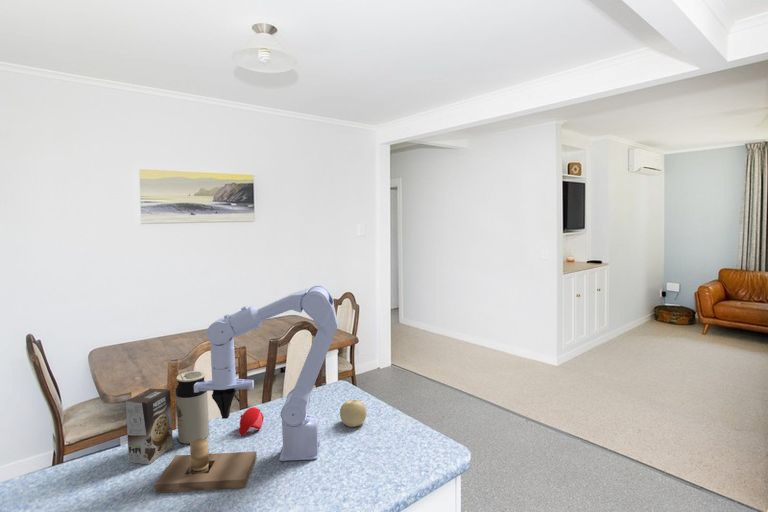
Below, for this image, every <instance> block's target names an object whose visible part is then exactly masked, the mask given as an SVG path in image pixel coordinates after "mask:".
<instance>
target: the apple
mask: <svg viewBox="0 0 768 512" xmlns="http://www.w3.org/2000/svg"><path fill="white" fill-rule="evenodd" d="M367 411H368V410H367V408H366V405H365V404H364V402H363V401H361V400H359V399H350V400H347V401H345V402H344V403H343V404H342V405H341V407H340V409H339V417H340V419H341V420H340V421H341V422H342V423H343V424H344V425H346V426H347V427H350V428H353V427H358V426H361V425H362V424H364V422H365V420H366V418H367V416H368V415H367Z"/></svg>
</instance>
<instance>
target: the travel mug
mask: <svg viewBox="0 0 768 512" xmlns="http://www.w3.org/2000/svg"><path fill="white" fill-rule="evenodd" d="M206 374H207V373H206V372H204V371H201V370H192V371H186V372H182V373H179V374H178V375H177V376H176V381H177V383H178V384H177V386H176V388H175V401H176V418H177V419H176V420H177V437H178V442H180V443H182V444H187V445H188V444H189V443H190V444H191V443H192V442H193V441H195V440H198V439H207V438H208V437H209V436H210V422H209V403H208V401H209V400H208V391H199V392H194V384H195V383H196V382H205V381H206V380H205V378H206V377H205V376H206ZM190 444H189V445H190Z"/></svg>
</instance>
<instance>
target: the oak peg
mask: <svg viewBox="0 0 768 512" xmlns="http://www.w3.org/2000/svg"><path fill="white" fill-rule="evenodd" d="M189 449H190V450H189V451H190V455H191V466H192V472H191V474H202V473H209V471H210V469H209V464H208V463H209V454H210V453H209V440H208V439H207V438H205V439H198V440H195V441H193V442H192V443H190V444H189Z"/></svg>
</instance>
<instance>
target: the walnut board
mask: <svg viewBox="0 0 768 512" xmlns="http://www.w3.org/2000/svg"><path fill="white" fill-rule="evenodd" d="M257 458H258V457H257V451H239V452H236V451H234V452H219V453H218V452H217V453H209V463H208V464H209V468H210V469H209V473H202V474H192V466H191V454H182V455H180V454H178V455H176V454H175V456H174V457H173V458H172V460H171V461H170V462H169V463H168V465H167V466H166V468H165V469H164V471H163V472H162V474H161V475H160V476H159V478H158V479H157V480H156V482H155V483H154V493H155V494H156V493H159V494H160V493H174V492H176V493H177V492H193V491H194V492H195V491H210V490H212V491H213V490H227V489H245V488H247V487H248V486H247V485H248V483H249V479H250V477H251V475H252V472H253V469H254V467H255V464H256V462H257Z"/></svg>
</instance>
